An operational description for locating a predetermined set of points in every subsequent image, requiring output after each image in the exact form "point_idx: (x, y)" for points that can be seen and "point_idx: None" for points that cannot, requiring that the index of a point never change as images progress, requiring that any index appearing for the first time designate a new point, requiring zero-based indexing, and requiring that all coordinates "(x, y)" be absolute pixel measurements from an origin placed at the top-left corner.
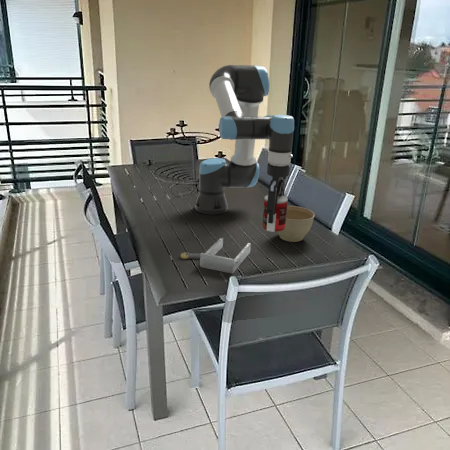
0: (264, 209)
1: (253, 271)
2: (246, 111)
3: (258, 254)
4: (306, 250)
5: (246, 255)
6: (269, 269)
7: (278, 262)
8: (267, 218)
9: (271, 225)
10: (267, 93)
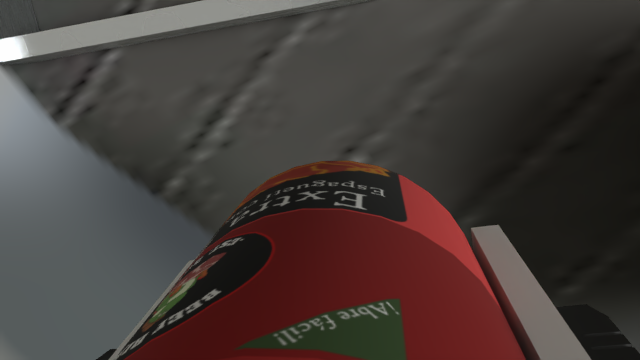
0: (145, 324)
1: (137, 154)
2: None
3: (373, 71)
4: None
5: (288, 15)
6: (217, 222)
7: None
8: (115, 353)
9: None
10: None
